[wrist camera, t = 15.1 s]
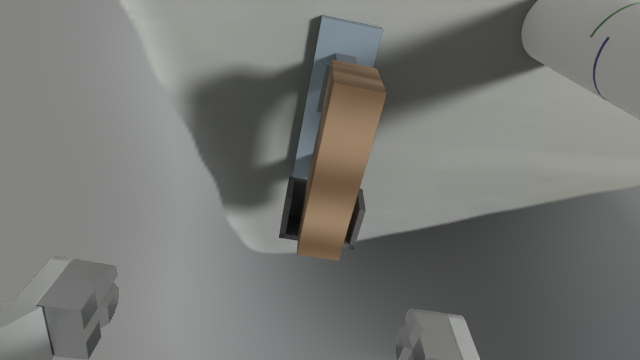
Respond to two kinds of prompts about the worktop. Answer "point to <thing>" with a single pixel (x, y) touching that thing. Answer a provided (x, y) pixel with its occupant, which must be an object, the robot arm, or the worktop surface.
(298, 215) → the stand
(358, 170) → the rail
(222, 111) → the worktop surface
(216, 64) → the worktop surface
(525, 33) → the cylindrical container
